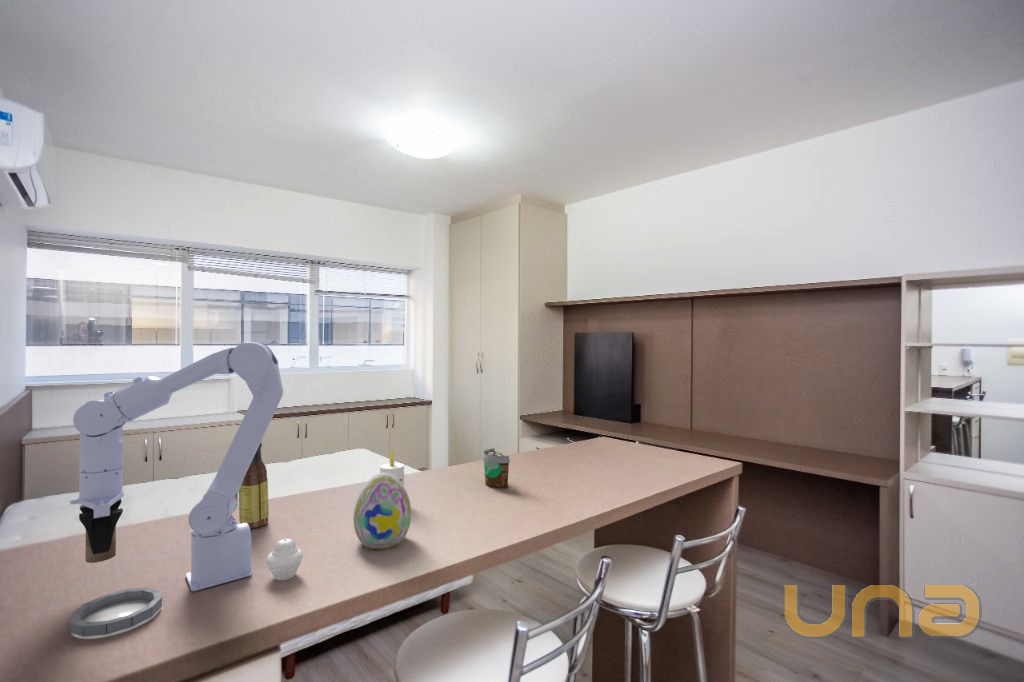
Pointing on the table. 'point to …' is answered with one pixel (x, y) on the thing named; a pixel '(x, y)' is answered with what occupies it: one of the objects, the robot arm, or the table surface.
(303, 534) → the table surface
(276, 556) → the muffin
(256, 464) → the sauce bottle
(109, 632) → the ring dish
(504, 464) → the food container
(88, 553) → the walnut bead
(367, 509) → the decorative egg
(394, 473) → the candle
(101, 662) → the table surface
